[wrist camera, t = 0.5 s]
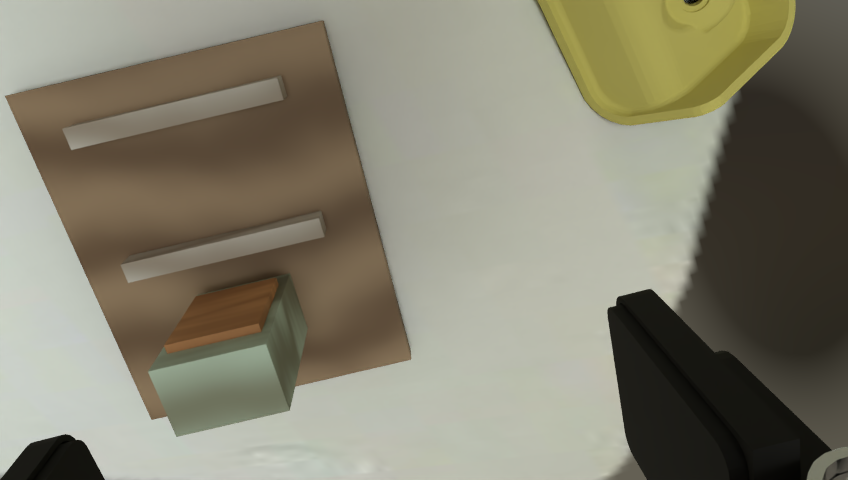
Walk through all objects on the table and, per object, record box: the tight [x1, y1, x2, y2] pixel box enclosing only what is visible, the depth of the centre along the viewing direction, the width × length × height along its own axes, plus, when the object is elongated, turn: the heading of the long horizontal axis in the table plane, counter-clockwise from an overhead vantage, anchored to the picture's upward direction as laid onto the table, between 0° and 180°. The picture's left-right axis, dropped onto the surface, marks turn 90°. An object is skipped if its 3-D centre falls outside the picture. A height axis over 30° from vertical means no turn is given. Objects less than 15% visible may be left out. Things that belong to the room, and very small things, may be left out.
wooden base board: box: [5, 21, 411, 437], centre depth 34 cm, size 22×18×10 cm
